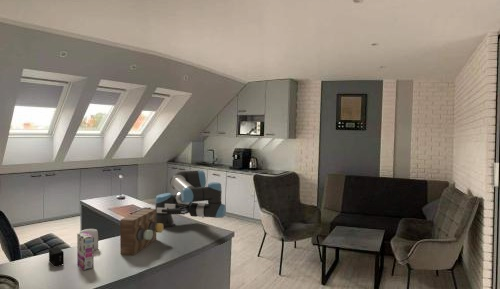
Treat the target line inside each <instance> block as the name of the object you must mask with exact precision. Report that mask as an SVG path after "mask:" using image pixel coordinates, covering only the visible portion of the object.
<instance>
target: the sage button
mask: <svg viewBox="0 0 500 289" xmlns="http://www.w3.org/2000/svg"><path fill="white" fill-rule="evenodd" d="M152 237H153V231H152V230H145V232H144V239H145V240H151V239H152Z"/></svg>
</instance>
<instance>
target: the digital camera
mask: <svg viewBox="0 0 500 289" xmlns="http://www.w3.org/2000/svg"><path fill="white" fill-rule="evenodd" d="M64 253H65V252H64V251H63V250H62V249H61V248H59V246H55V247H51V248H49V249H48V262H49V261H50V262H51V263H52V264H53V265H54V266H57V267H60V266H63V265H62V264H65V262H64V258H65V257H64ZM50 262H49V263H50ZM51 263H50V264H51ZM52 264H51V265H52ZM53 265H52V266H53ZM59 265H60V266H59ZM54 266H53V267H54Z"/></svg>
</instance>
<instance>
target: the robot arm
mask: <svg viewBox="0 0 500 289" xmlns="http://www.w3.org/2000/svg"><path fill="white" fill-rule="evenodd" d="M169 179H170V180H169V185H170V187H171V188H172V189H173V190H175V191H177V194H172V192H171V193H170V192H165V193H161V194H160V193H159V194H157V195H156V196H155V202H154V203H155V205H154V206H155V208H154V209H156V224H157V223H162V224H163V226H164V228H169V227H173V226H174V222H175V220H174V218H173V216H172V215H185V214H189V215H190V217H199V218H200V217H201V218H202V219H204V218H214V219H218V218H220V219H222V218H225V215H226V210H227V208H226V205H225V204H224V203H222V194H223V193H222V192H223V191H222V184H221V182H214V181H213V182H208V184H207V178H206V173H205V172H204V170H199V169H197V170H183V171H178V172H175V173H174V174H173V175H172V176H171V178H169ZM204 201H205V202H206V201H207V203H205V202H204ZM201 202H202V203H201ZM203 202H204V203H203ZM164 228H163V229H164Z"/></svg>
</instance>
